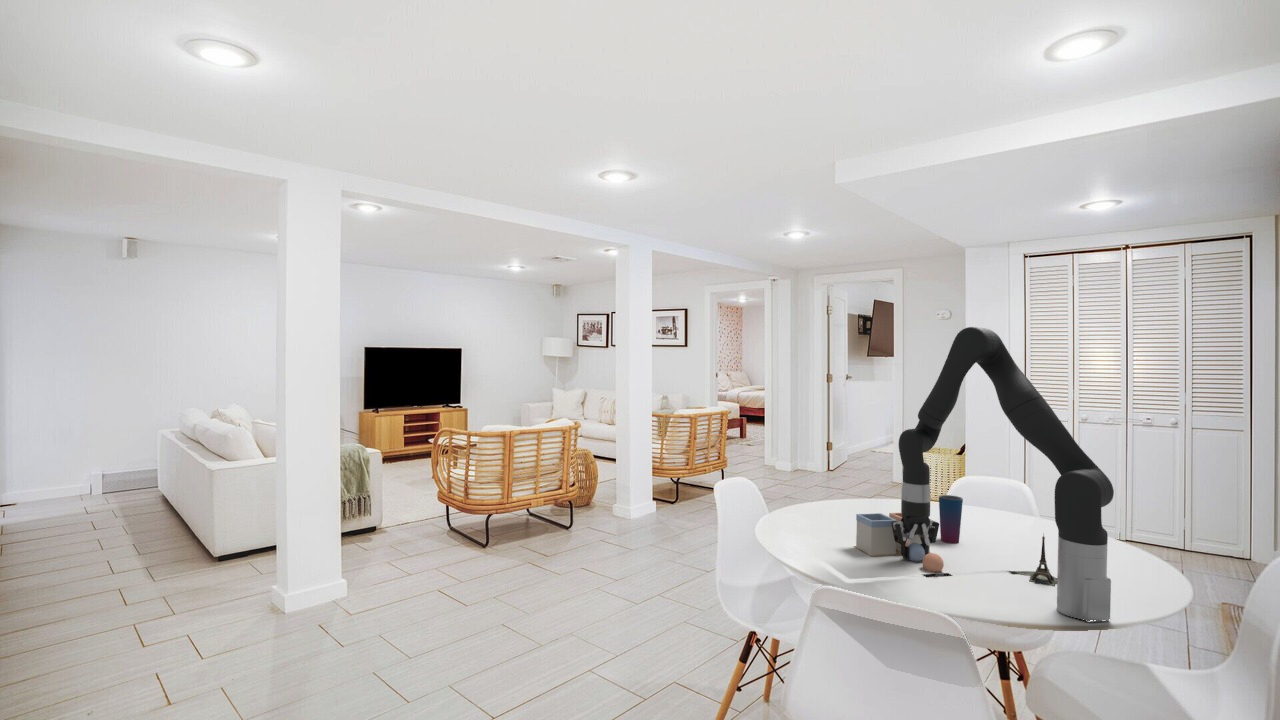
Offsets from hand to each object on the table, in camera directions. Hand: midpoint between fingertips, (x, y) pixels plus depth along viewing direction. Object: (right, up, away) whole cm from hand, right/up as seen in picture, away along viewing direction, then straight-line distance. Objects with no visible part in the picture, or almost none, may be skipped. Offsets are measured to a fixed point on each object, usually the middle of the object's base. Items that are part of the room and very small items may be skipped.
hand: (914, 557), depth 175 cm
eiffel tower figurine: (+29, -3, -12) cm, 32 cm away
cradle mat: (+1, -2, -4) cm, 4 cm away
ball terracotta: (+1, -2, -8) cm, 8 cm away
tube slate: (-8, 0, +8) cm, 11 cm away
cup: (+20, -2, +19) cm, 28 cm away
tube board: (-3, -2, +9) cm, 9 cm away
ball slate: (0, -1, 0) cm, 1 cm away
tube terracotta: (+3, -1, +10) cm, 10 cm away
